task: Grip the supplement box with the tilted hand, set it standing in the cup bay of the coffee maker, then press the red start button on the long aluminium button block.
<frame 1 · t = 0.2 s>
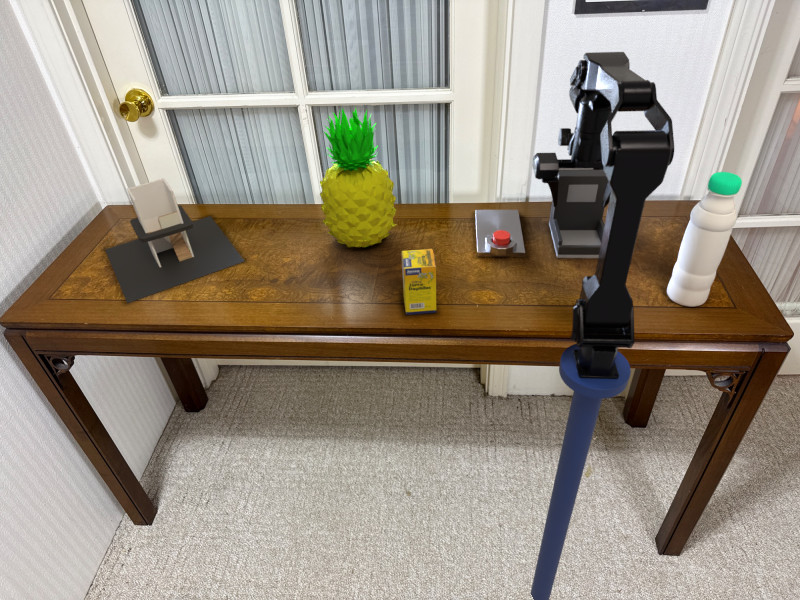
hand: (579, 206, 109), 14 cm above the table, tool pointing down, fingers open, 9 cm apart
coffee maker: (577, 240, 124), on the table
pineapple: (361, 239, 129), on the table
button block: (498, 234, 128), on the table
beige and grey stand: (173, 255, 127), on the table
water bottle: (685, 297, 108), on the table
start button: (501, 238, 120), point 3 cm above the table, slide at 0.1 cm
supplement box: (419, 305, 110), on the table
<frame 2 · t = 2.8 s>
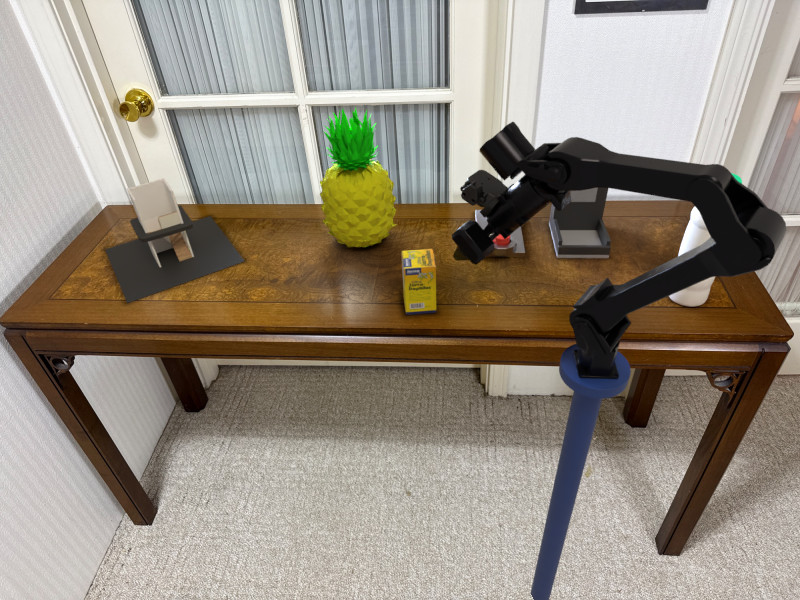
hand: (469, 245, 100), 14 cm above the table, tool tilted 40°, fingers open, 9 cm apart
nothing on the table moved.
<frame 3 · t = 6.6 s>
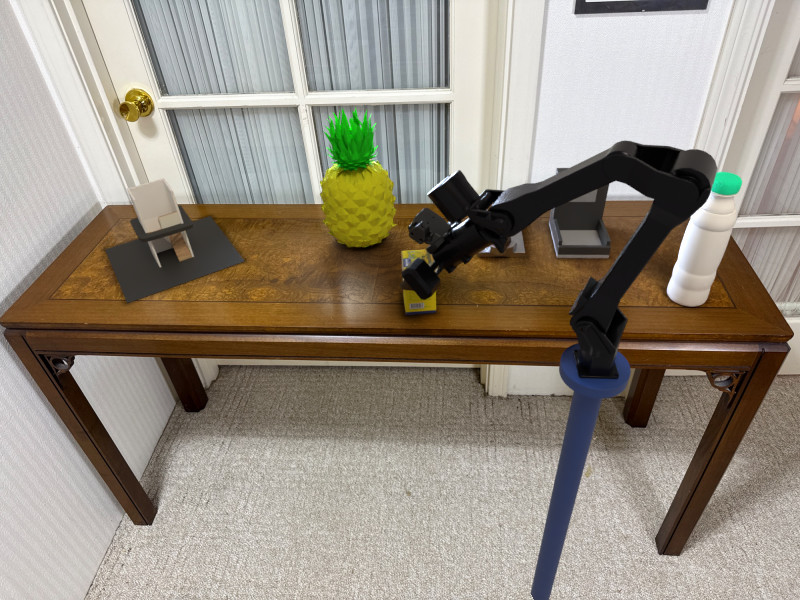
hand: (412, 275, 106), 7 cm above the table, tool tilted 45°, fingers closed on supplement box, 8 cm apart
supplement box: (419, 305, 110), on the table, touching gripper
everything else where it was.
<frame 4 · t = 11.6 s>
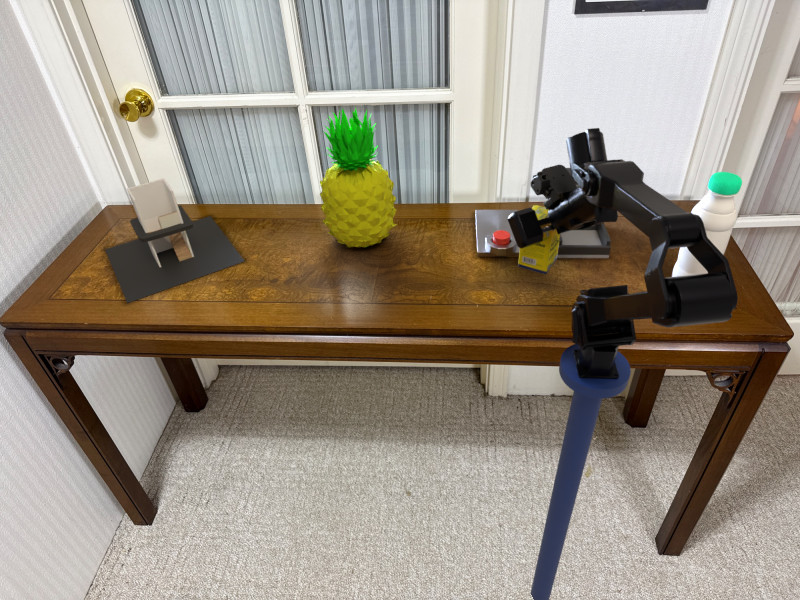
hand: (536, 231, 107), 11 cm above the table, tool tilted 45°, fingers closed on supplement box, 8 cm apart
supplement box: (537, 264, 110), point 4 cm above the table, touching gripper
everything else where it was.
when the fingers open (7 cm above the table, at t = 16.6 s): supplement box stays where it is, resting on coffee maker.
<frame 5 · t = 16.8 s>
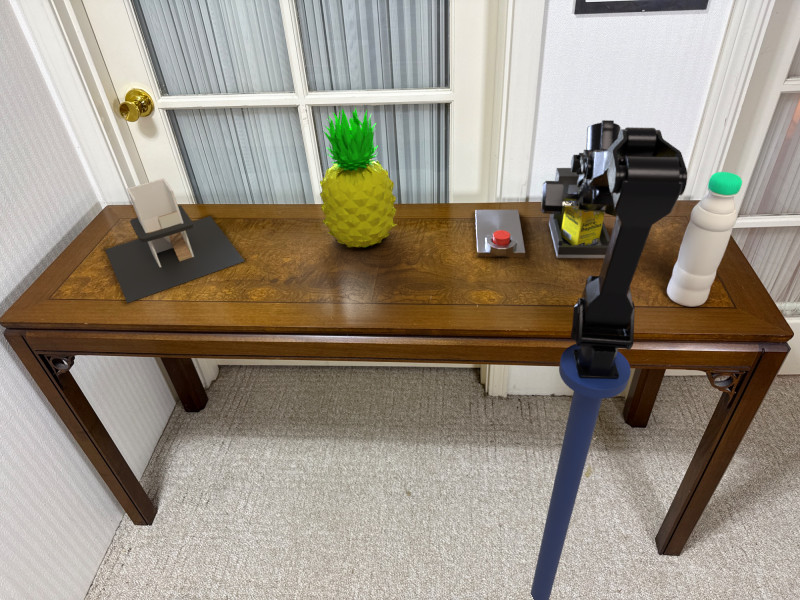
hand: (583, 210, 119), 8 cm above the table, tool tilted 45°, fingers open, 9 cm apart
supplement box: (578, 242, 123), point 1 cm above the table, touching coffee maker
everything else where it was.
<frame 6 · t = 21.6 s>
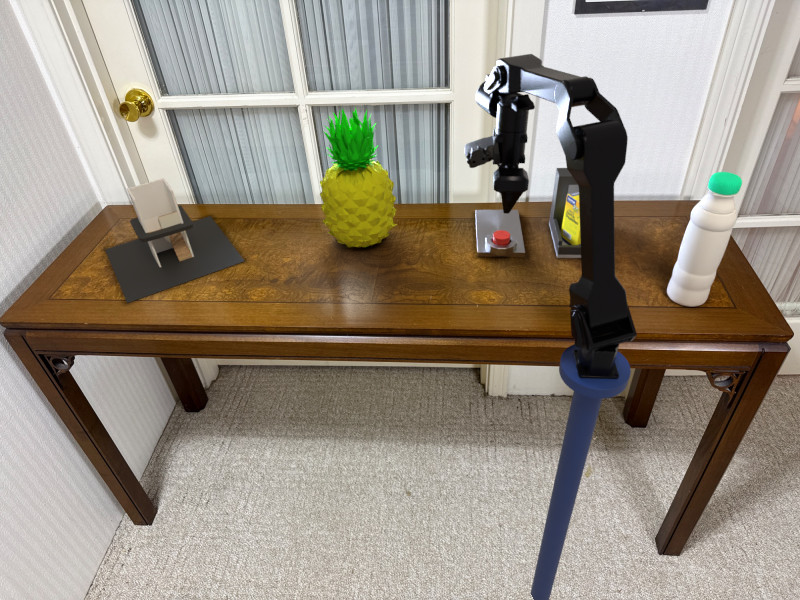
hand: (505, 201, 115), 12 cm above the table, tool pointing down, fingers open, 9 cm apart
nothing on the table moved.
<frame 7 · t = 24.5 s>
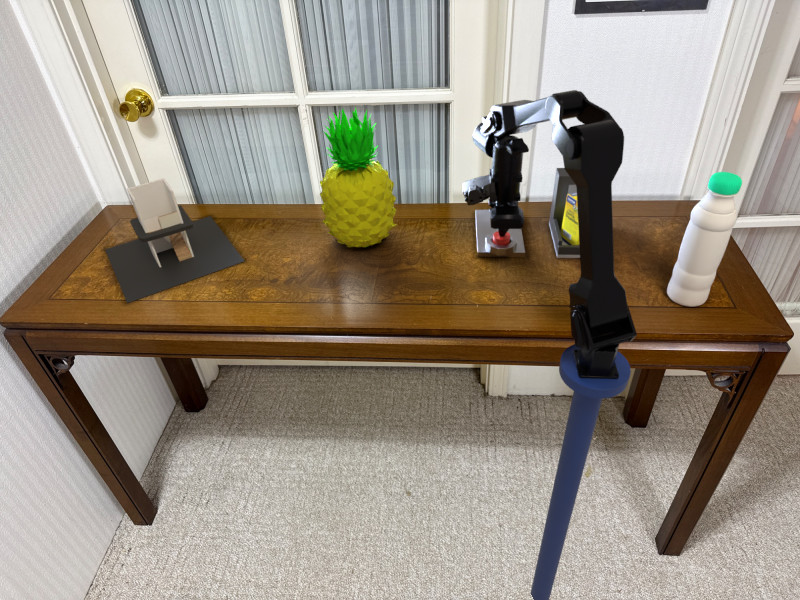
hand: (501, 235, 120), 4 cm above the table, tool pointing down, fingers closed, pressing on start button
start button: (501, 238, 120), point 3 cm above the table, slide at -0.1 cm, touching gripper
everything else where it was.
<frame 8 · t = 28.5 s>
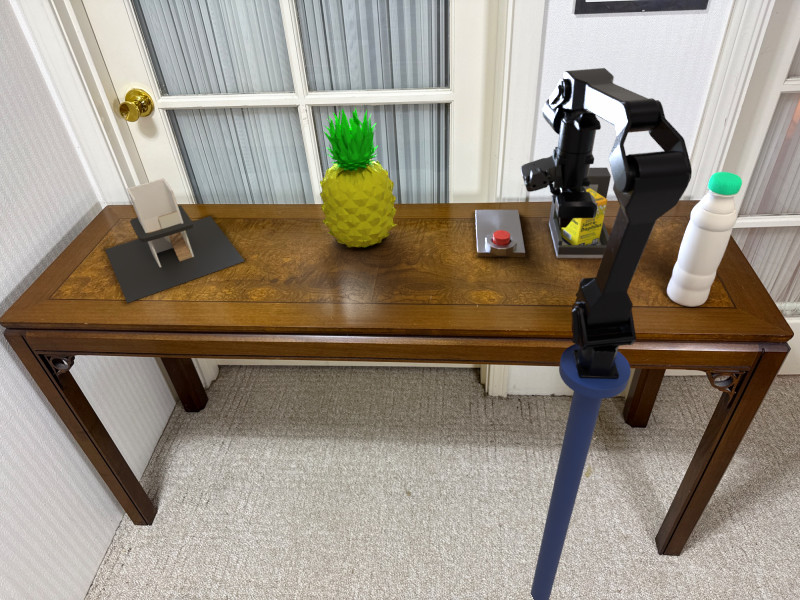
hand: (562, 226, 105), 13 cm above the table, tool pointing down, fingers closed
start button: (501, 238, 120), point 3 cm above the table, slide at 0.1 cm
everything else where it was.
at the end: supplement box inside the target area on the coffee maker (0.1 cm from its centre), point 0.6 cm above the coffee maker's base; supplement box tilted 0°; start button pushed in 1.1 cm at the most during the clip, back to where it started at the end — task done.
